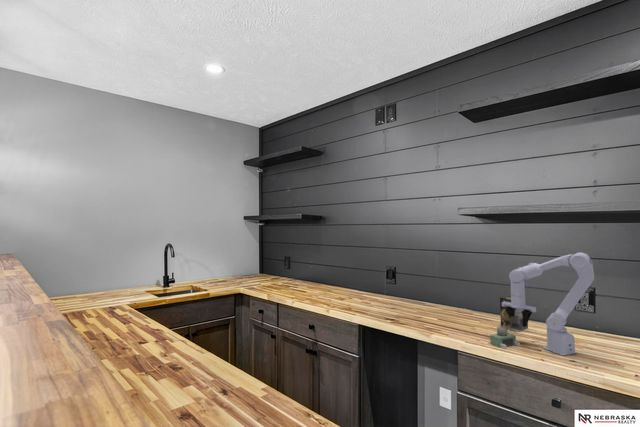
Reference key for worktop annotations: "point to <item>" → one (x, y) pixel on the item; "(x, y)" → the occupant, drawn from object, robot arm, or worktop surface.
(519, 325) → the chute
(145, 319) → the worktop surface
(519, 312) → the coffee box
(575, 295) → the robot arm
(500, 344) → the green base with knob
